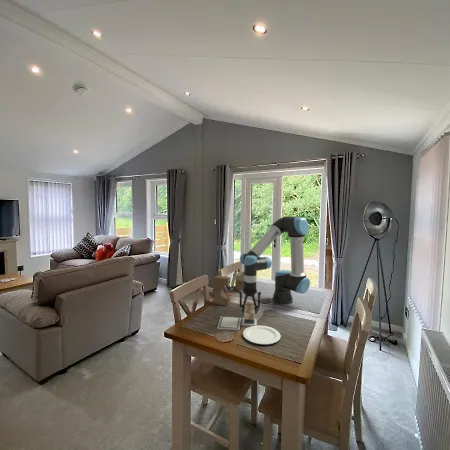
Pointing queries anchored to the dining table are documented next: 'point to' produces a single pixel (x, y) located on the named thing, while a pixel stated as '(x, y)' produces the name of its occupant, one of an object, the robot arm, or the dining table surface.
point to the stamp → (249, 311)
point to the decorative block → (221, 290)
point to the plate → (261, 335)
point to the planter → (239, 281)
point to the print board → (229, 323)
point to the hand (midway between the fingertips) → (249, 318)
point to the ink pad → (249, 322)
